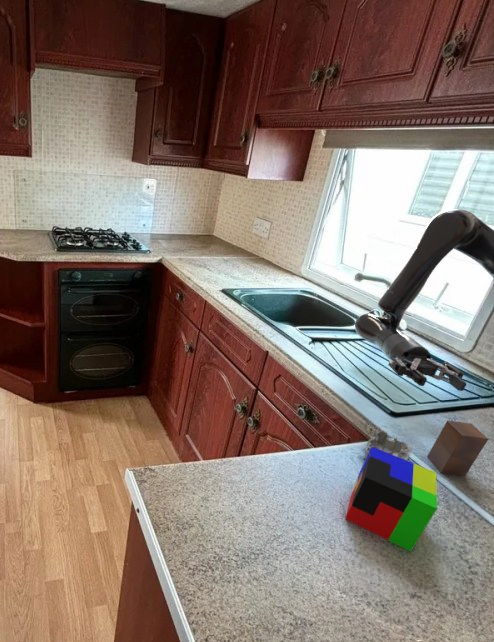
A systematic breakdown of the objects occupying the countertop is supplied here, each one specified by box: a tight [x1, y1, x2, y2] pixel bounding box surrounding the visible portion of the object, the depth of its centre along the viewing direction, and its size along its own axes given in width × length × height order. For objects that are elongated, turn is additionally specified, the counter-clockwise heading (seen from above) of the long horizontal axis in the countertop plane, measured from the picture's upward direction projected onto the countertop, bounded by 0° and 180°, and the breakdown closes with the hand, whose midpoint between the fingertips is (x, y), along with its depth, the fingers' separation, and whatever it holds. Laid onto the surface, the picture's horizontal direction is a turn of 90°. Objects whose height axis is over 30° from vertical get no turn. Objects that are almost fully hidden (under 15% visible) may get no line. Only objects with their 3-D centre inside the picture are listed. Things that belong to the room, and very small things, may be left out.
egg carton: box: [362, 426, 413, 461], centre depth 87 cm, size 11×8×4 cm
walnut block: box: [426, 420, 489, 477], centre depth 85 cm, size 5×5×10 cm
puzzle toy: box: [344, 447, 438, 552], centre depth 71 cm, size 10×10×10 cm
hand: (443, 385), depth 91 cm, fingers open, 8 cm apart
